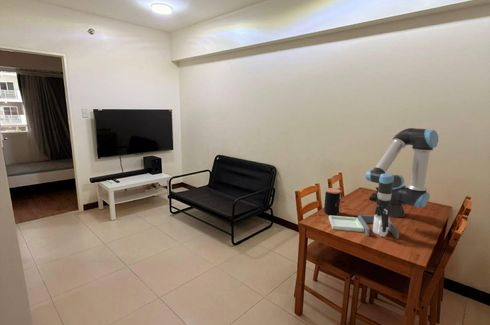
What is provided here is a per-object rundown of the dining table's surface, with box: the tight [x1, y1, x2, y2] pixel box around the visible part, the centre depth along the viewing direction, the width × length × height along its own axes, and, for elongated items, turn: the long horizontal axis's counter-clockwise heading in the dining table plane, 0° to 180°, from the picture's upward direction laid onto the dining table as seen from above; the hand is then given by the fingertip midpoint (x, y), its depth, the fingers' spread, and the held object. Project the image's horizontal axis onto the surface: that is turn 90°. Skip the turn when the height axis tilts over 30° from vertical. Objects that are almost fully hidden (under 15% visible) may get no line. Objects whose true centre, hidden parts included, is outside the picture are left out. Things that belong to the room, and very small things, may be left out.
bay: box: [357, 214, 400, 240], centre depth 171 cm, size 18×22×5 cm
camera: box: [369, 184, 379, 203], centre depth 225 cm, size 16×14×15 cm
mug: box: [372, 214, 391, 236], centre depth 165 cm, size 9×12×11 cm
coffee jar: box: [323, 187, 342, 216], centre depth 196 cm, size 11×11×18 cm
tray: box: [328, 215, 365, 233], centre depth 177 cm, size 19×17×2 cm
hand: (379, 231), depth 166 cm, fingers closed on mug, 11 cm apart
